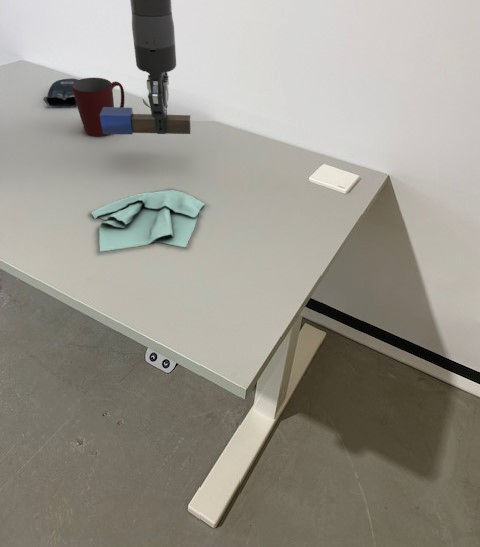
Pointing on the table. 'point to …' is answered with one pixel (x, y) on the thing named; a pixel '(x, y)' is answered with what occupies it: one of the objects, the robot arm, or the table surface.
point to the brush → (139, 122)
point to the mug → (94, 101)
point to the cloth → (148, 220)
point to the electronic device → (61, 94)
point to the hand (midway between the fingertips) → (162, 129)
